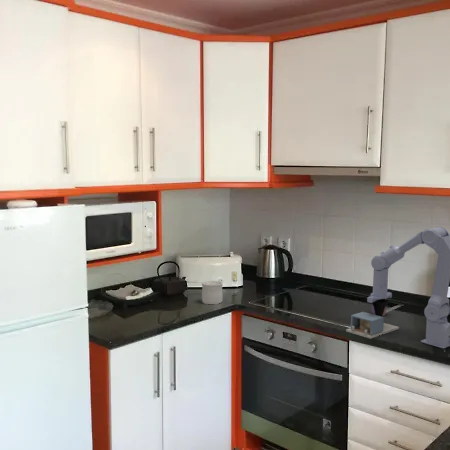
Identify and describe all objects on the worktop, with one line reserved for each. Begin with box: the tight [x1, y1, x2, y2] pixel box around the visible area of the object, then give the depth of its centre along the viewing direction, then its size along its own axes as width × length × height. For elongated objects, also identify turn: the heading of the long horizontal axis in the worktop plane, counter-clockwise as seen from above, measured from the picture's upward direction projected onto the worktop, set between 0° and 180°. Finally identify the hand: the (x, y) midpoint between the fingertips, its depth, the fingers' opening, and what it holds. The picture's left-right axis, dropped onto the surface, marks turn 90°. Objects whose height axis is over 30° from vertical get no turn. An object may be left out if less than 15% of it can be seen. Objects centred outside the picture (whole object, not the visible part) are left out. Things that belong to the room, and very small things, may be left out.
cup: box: [201, 280, 224, 305], centre depth 262 cm, size 10×10×10 cm
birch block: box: [360, 319, 370, 332], centre depth 219 cm, size 4×4×4 cm
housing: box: [349, 311, 385, 335], centre depth 219 cm, size 10×8×6 cm
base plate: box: [345, 322, 400, 339], centre depth 222 cm, size 12×20×3 cm, turn 130°
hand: (378, 317), depth 224 cm, fingers closed
